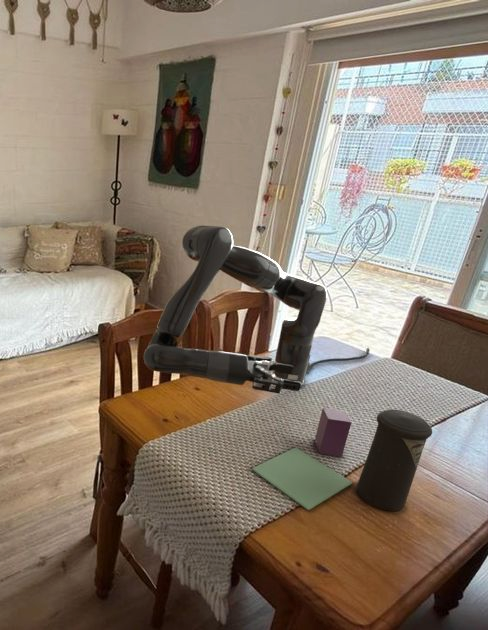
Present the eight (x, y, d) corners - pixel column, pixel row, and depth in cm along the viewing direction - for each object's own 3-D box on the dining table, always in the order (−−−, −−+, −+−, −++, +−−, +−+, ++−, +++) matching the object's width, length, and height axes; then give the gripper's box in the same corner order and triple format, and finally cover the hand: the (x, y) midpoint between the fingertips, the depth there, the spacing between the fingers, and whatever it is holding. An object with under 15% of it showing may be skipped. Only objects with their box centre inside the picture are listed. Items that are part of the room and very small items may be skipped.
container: (406, 519, 88) (437, 436, 81) (354, 501, 93) (379, 421, 85) (403, 492, 95) (431, 414, 88) (354, 477, 99) (378, 401, 92)
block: (314, 441, 112) (322, 407, 108) (335, 444, 110) (345, 410, 107) (318, 453, 107) (328, 418, 104) (341, 457, 106) (351, 422, 102)
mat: (295, 448, 109) (295, 447, 109) (352, 484, 97) (352, 482, 97) (251, 469, 101) (251, 468, 101) (308, 510, 90) (308, 509, 90)
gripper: (230, 366, 100) (307, 377, 97) (225, 342, 113) (292, 351, 110) (224, 394, 103) (299, 406, 100) (220, 367, 116) (286, 377, 113)
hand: (295, 377), depth 105 cm, fingers open, 8 cm apart
